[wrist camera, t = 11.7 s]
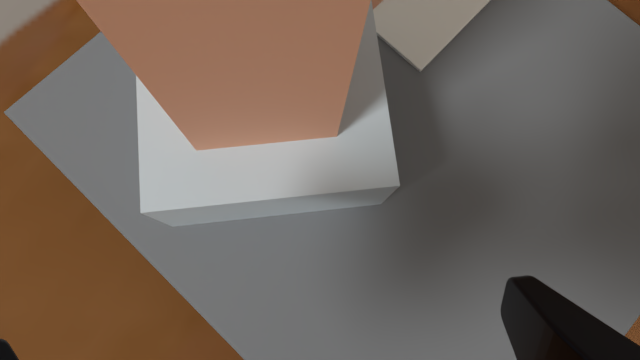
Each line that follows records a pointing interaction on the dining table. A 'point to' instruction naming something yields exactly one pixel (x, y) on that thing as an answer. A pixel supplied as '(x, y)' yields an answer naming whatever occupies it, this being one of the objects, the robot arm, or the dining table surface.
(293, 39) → the pillar block
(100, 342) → the dining table surface
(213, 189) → the base block
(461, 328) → the board
